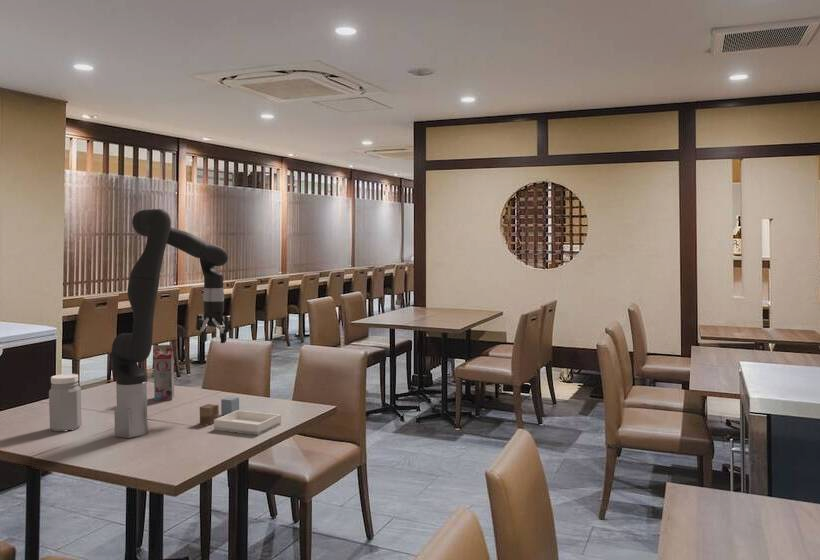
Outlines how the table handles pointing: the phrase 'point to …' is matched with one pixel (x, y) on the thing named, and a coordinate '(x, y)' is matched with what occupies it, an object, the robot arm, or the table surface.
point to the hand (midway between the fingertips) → (213, 342)
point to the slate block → (229, 405)
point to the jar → (65, 402)
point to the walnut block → (209, 414)
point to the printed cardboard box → (163, 372)
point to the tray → (247, 422)
